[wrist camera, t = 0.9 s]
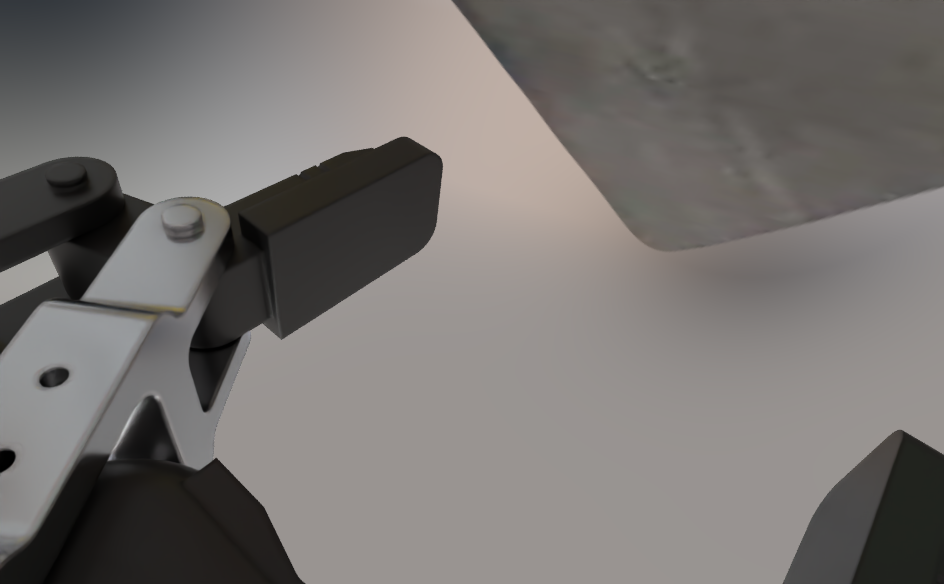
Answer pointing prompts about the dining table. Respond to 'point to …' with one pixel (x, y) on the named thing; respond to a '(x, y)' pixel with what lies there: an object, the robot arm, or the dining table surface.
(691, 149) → the dining table surface
